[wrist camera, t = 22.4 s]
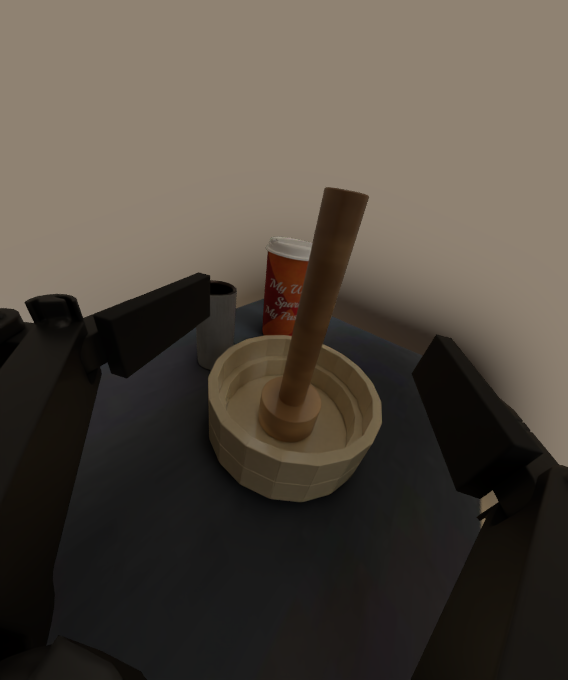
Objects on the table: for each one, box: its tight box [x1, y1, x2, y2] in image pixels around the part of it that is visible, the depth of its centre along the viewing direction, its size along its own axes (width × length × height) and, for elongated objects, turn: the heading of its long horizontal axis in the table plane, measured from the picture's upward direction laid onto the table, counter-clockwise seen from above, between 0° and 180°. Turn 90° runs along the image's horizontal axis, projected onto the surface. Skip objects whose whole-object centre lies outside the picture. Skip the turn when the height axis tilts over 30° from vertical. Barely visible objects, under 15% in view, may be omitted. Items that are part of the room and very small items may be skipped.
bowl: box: [208, 335, 382, 502], centre depth 22 cm, size 16×16×6 cm
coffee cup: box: [263, 237, 312, 336], centre depth 35 cm, size 8×8×15 cm
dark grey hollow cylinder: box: [196, 281, 237, 370], centre depth 28 cm, size 4×4×10 cm
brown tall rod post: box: [258, 187, 369, 442], centre depth 18 cm, size 6×6×20 cm
